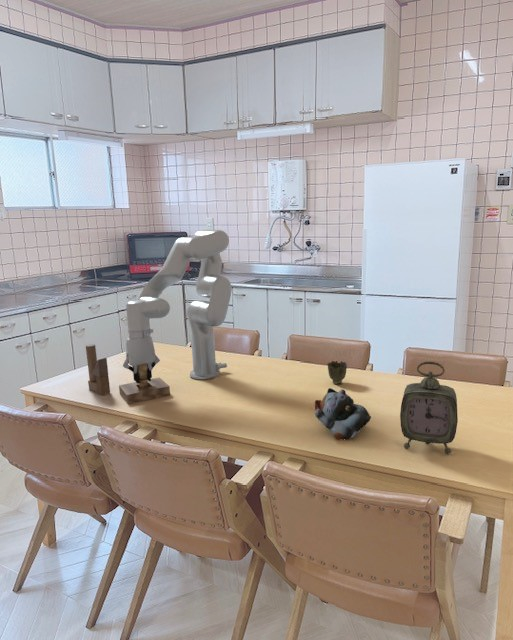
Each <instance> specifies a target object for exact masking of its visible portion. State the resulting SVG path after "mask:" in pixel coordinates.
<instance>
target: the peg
mask: <svg viewBox="0 0 513 640" xmlns="http://www.w3.org/2000/svg"><path fill="white" fill-rule="evenodd" d="M137 373H138V374H139V389H142V388H147V387H148V381H147V375H148V371H147V364H140V365H138V366H137Z"/></svg>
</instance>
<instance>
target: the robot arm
mask: <svg viewBox="0 0 513 640" xmlns="http://www.w3.org/2000/svg"><path fill="white" fill-rule="evenodd" d="M229 245H230V237H229V235H228V234H227V232H225V231H224V230H222V229H221V230H220V229H200V230H198V231H196V232H195V233H194V235H193V237H192V236H182V237H178V238H177V239H176V240H175V241H174V243H173V245H172V247H171V249H170V251H169V253H168V255H167V257H166V259H165V261H164V263H163V265H162V267H161V268H160V270H159V271H158V272H157V273H155V274H154V276H153V277H152V278H151V279H149V280H148V281H147V283H146V284H145V285H144V287H143V288H142V290H141V293H140V295H139V296H138V300H137V299H136V300H130V301H127V303H126V306H125V308H126V318H127V319H126V320H127V321H126V322H127V331H128V337H127V338H126V340H125V341H126V343H125V355H126V356H125V358H126V359H125V360H124V362H123V364H122V367H123V368H125V369H126V370H129V371H130V372H132V374H133V380H134V381H133V382H136V383H137V384H138V383H139V374H138V373H137V366H138V365H140V364H147V371H148V375H147V380H148V381H151V379H153V373H152V372H153V369H154V368H155V366H156V365H157V364H158V363H160V361H161V359H160V358H159V357H158V356H157V355H156V350H155V349H156V348H155V345H154V339H153V337H152V335H151V334H152V333H154V328H150V321H149V320H150V319H153V320H154V319H162V318H164V317H166V316H167V315H168V314H169V313H170V309H171V306H170V303H169V302H168V301H167V300H166V299H164V298H161V297H160V295H161V294H162V292H163V291H165V289H167V288H169V287H170V286H171V287H172V285H174V284H176V283H179V282H180V281H182V280H183V277H184V275H185V273H186V271H187V269H188V267H189V265H190V263H191V261H192V260H193V261H194V260H197V261H198V260H200V261H201V262H200V267H199V273H198V277H197V281H196V286H195V292H196V293H197V295H198V296H200V297H202V298H206V299H209V301H208V300H200V299H199V300H197V299H196V300H194V301H192V302H190V303H189V304H188V307H187V310H186V316H187V321H188V324H189V329H190V331H189V332H190V339H191V342H190V343H191V352H192V353H191V355H192V357H191V358H192V369H193V370H191V371H190V372H189V377H190V378H192V379H194V380H203V381H204V380H210V379H214V378H217V377H219V376H220V375H221V369H224V368H227V367H228V365H227V363H222V362H217V361H216V360H217V359H216V347H215V346H216V345H215V332H214V327H215V328H217V327H220V326H221V325H222V324H223V323H224V322H225V320H226V317H227V314H228V310H229V306H230V300H231V296H232V284H231V281H230V280H229V279H228V278H227V277H226V276H224V275H223V276H222V275H221V273H222V268H223V266H222V265H223V261H222V256H221V253H223V252H224V251H225V250H226V249H227V248H228V246H229Z"/></svg>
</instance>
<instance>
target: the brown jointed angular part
mask: <svg viewBox="0 0 513 640" xmlns="http://www.w3.org/2000/svg"><path fill="white" fill-rule="evenodd" d="M96 347H97V346H96V344H94V343H89V344H87V345H85V352H86V359H87V360H86V361H87V367H88V368H87V369H88V378H89V379H88V380H87V383H88V384H87V385H88V389H89V390H90V391H92V392H94V393H97V394H99V395H101V396H104V395H107V393H108V394H111V387H110V386H111V385H110V379H109V369H108V359H107V357H103V358H99V359H97V349H96Z"/></svg>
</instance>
